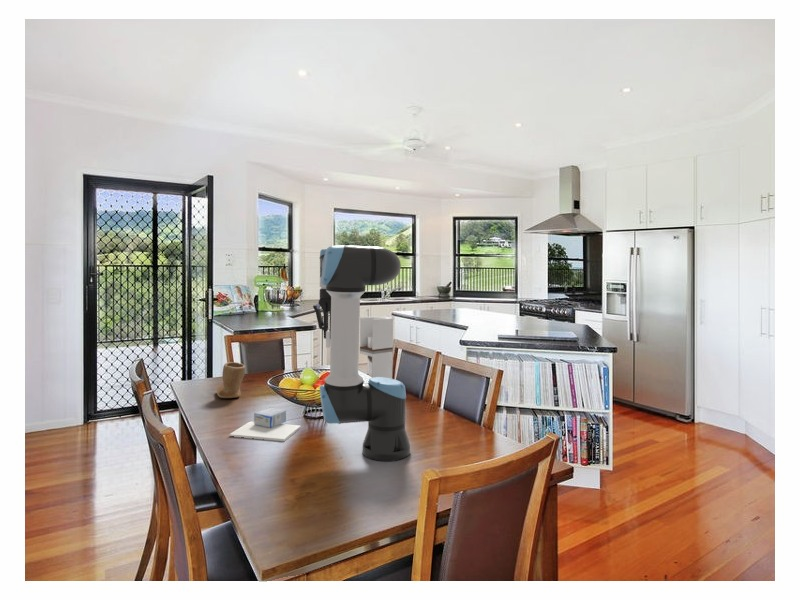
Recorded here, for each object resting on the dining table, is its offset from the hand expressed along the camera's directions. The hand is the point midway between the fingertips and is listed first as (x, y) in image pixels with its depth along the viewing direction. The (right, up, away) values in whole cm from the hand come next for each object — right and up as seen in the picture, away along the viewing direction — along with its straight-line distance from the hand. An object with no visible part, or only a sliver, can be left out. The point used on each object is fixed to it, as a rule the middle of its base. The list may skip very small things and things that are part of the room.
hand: (328, 346), depth 189 cm
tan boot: (-47, -24, +23) cm, 58 cm away
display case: (+17, -25, +35) cm, 46 cm away
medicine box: (-17, -24, -13) cm, 32 cm away
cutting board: (-19, -28, -23) cm, 41 cm away
